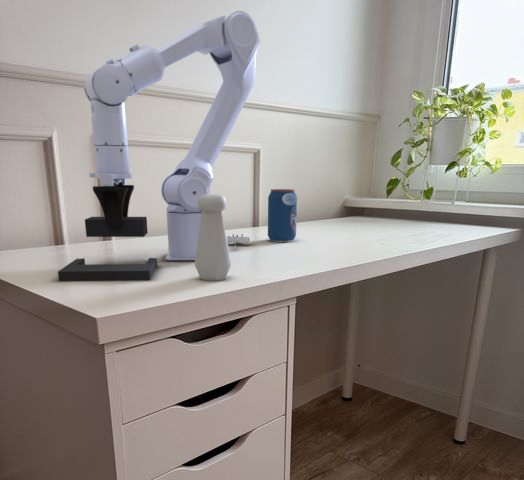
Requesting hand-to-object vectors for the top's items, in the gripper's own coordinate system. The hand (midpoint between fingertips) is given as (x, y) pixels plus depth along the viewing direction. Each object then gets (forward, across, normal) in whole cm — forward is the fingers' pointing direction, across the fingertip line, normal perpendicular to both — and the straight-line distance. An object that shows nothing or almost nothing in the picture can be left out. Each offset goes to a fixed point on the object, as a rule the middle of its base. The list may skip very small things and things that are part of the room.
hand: (117, 227), depth 93 cm
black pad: (+7, +10, 0) cm, 12 cm away
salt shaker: (+7, +15, +17) cm, 23 cm away
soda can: (+7, -30, +34) cm, 46 cm away
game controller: (+7, -20, +22) cm, 31 cm away
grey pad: (+1, 0, 0) cm, 1 cm away
